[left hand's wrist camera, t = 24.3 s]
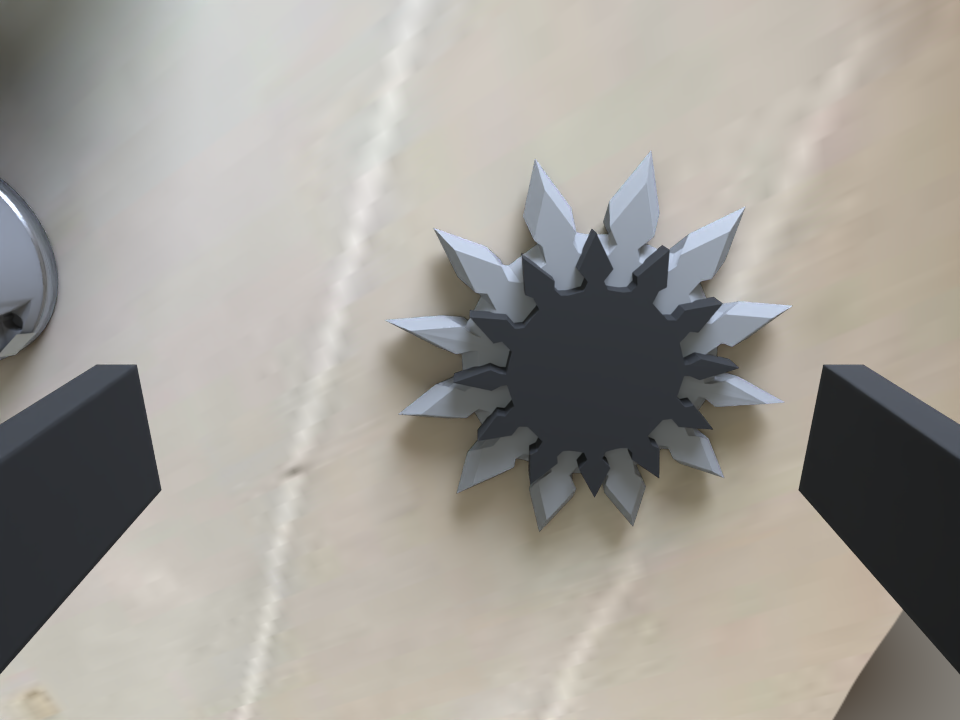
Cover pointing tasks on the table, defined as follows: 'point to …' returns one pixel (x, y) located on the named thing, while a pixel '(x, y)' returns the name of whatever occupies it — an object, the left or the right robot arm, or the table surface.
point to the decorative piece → (591, 348)
